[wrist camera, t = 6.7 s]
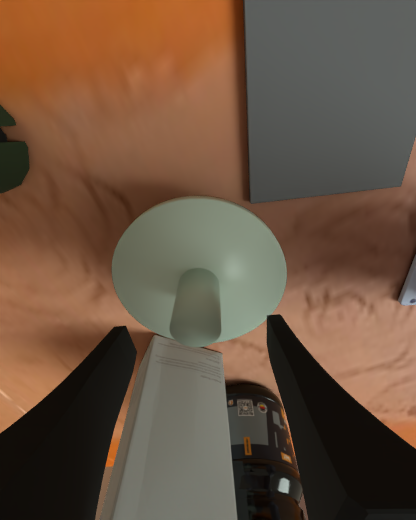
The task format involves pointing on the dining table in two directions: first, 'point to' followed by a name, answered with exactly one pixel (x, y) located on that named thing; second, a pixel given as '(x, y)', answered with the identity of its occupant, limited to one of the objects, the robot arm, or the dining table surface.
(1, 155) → the character mug
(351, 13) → the mat
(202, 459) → the skincare box
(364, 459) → the robot arm
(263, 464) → the supplement container
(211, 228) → the lid
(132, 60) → the dining table surface
